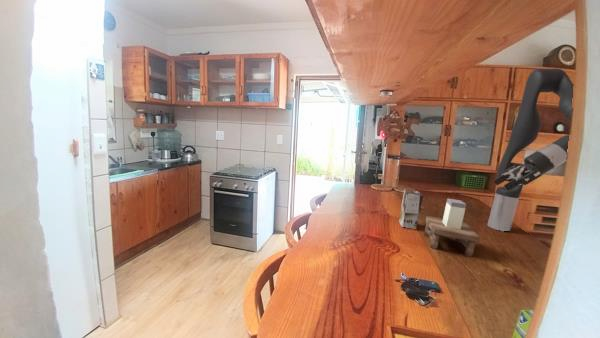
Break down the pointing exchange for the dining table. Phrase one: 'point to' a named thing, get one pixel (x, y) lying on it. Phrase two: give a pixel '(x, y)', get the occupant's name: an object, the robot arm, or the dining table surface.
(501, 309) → the dining table surface
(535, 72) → the robot arm
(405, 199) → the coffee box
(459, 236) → the footstool
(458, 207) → the cream faceted block
